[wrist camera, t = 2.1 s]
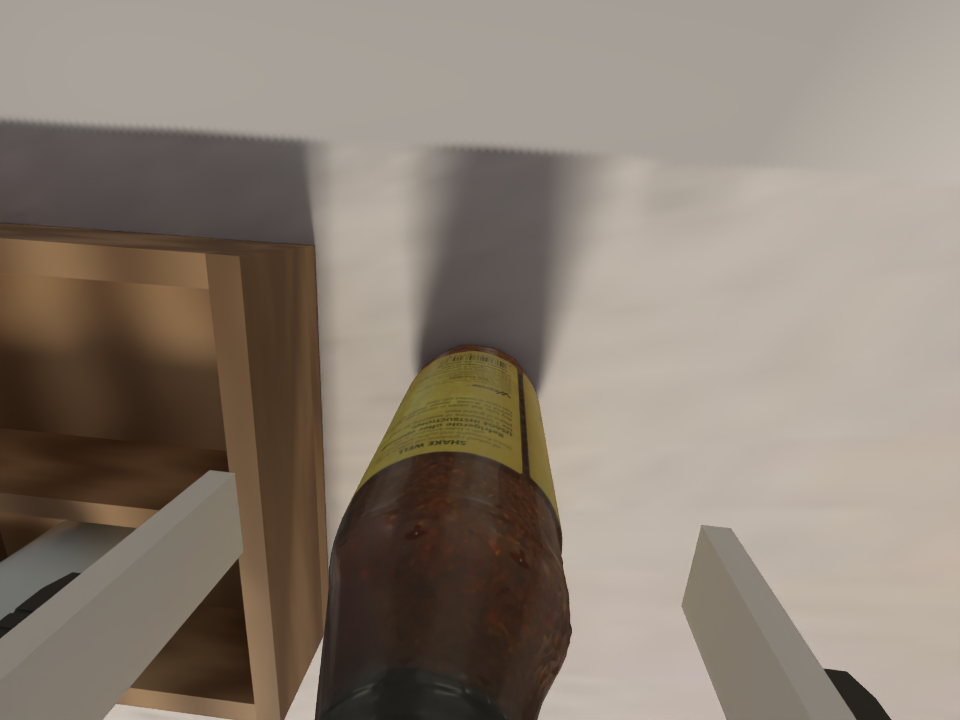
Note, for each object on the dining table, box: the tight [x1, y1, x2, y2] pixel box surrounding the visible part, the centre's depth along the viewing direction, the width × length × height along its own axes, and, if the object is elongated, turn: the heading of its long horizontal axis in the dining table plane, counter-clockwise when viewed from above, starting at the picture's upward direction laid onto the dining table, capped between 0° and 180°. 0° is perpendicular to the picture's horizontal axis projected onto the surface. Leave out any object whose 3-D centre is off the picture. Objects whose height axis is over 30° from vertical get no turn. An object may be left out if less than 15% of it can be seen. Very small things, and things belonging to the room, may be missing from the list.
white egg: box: [0, 520, 137, 620], centre depth 21 cm, size 6×6×9 cm
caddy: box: [0, 223, 329, 720], centre depth 22 cm, size 20×22×6 cm
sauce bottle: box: [315, 345, 572, 720], centre depth 13 cm, size 6×6×20 cm
